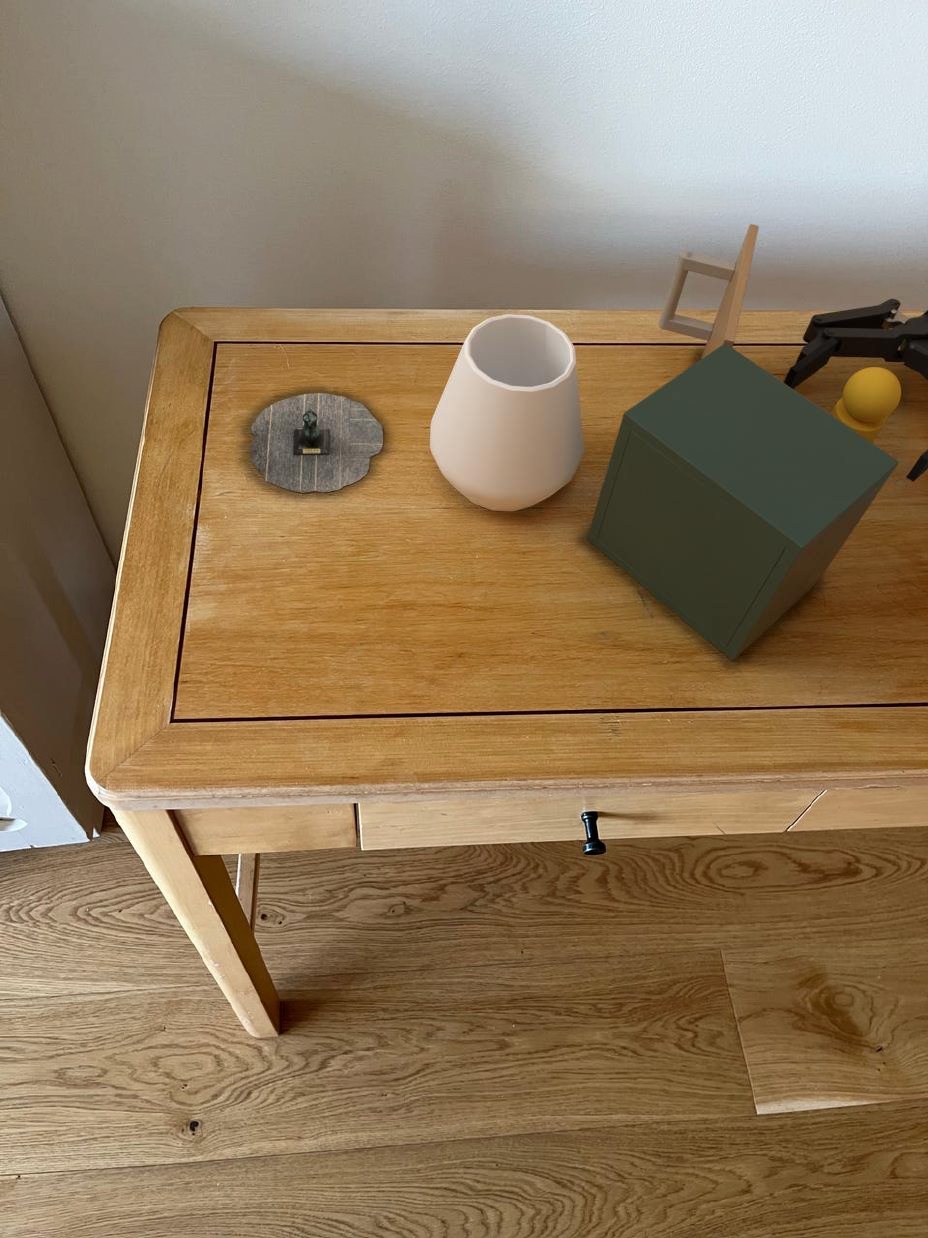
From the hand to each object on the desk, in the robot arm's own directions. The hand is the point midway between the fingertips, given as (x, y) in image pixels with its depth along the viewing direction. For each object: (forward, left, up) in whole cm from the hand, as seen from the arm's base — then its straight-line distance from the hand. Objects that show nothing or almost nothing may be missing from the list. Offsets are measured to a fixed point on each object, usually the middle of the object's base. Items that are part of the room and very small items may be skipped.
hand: (850, 424), depth 81 cm
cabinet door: (+16, +2, -6) cm, 17 cm away
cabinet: (+4, +17, -6) cm, 18 cm away
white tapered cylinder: (+23, +20, -6) cm, 31 cm away
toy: (0, -1, -6) cm, 6 cm away
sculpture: (+38, +28, -6) cm, 47 cm away
